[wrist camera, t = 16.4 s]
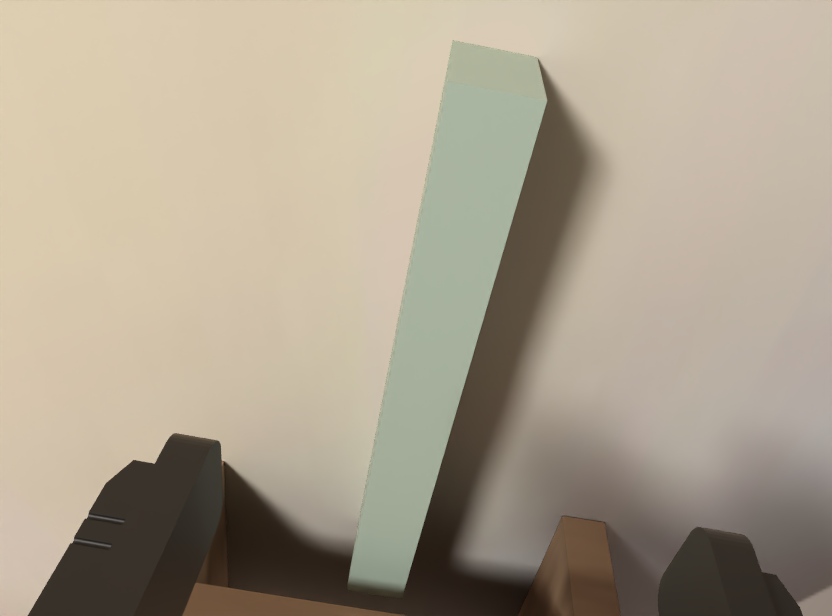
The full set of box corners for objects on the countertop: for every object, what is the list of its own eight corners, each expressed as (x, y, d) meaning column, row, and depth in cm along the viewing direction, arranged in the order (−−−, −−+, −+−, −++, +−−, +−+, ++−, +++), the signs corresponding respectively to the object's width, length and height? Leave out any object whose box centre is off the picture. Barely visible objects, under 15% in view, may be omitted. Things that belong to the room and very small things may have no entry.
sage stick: (452, 37, 20) (447, 80, 16) (536, 54, 20) (547, 101, 17) (359, 515, 33) (346, 590, 30) (409, 523, 33) (401, 599, 30)
